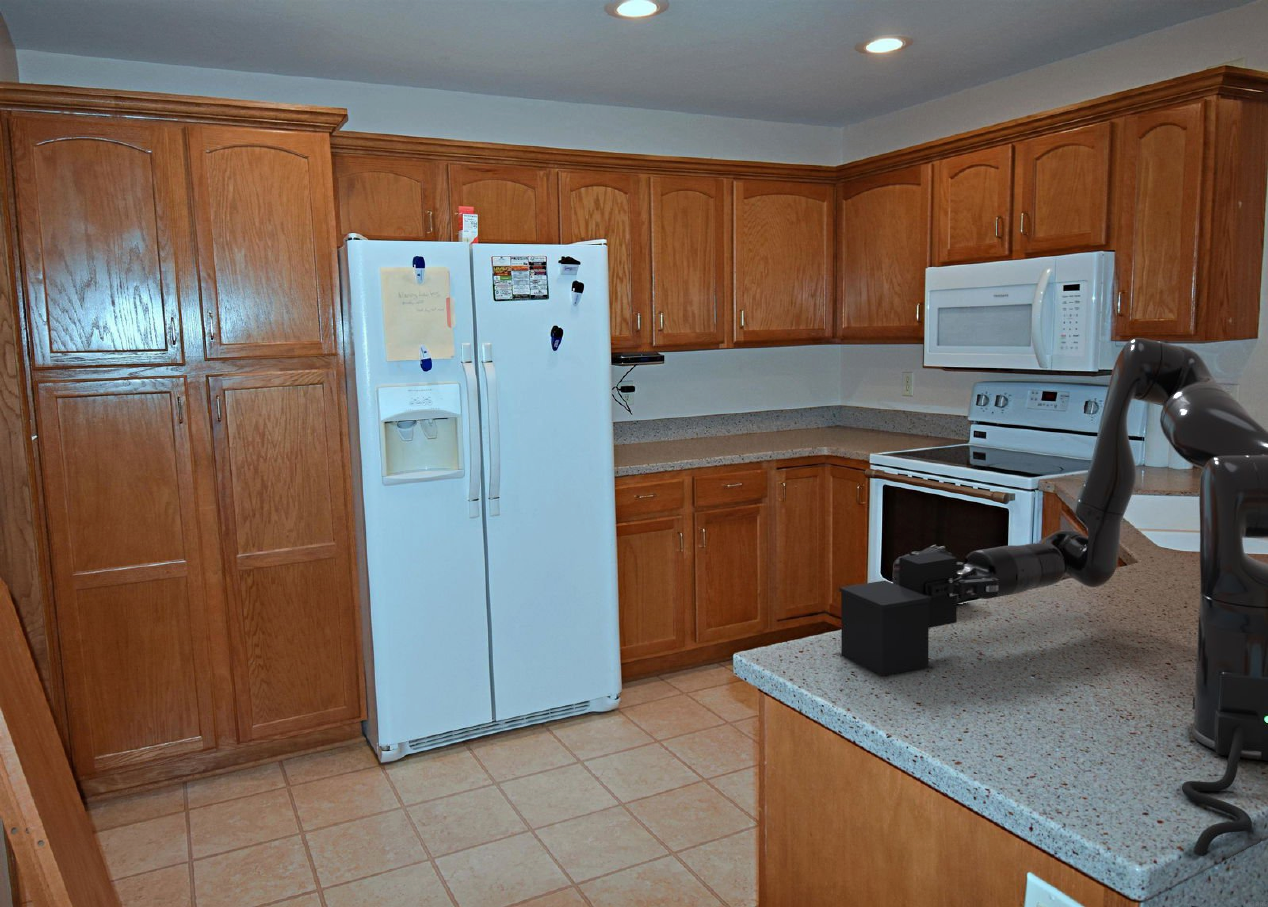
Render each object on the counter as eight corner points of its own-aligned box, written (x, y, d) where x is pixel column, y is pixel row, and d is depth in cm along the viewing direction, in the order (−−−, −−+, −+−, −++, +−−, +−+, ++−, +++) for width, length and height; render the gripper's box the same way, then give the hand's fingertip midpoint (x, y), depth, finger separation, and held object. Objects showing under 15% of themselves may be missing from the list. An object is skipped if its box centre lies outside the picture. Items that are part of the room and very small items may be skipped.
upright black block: (956, 622, 133) (957, 557, 131) (918, 630, 130) (919, 563, 129) (936, 614, 137) (936, 551, 136) (899, 621, 134) (899, 557, 133)
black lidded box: (930, 667, 128) (931, 597, 126) (882, 677, 125) (882, 605, 123) (884, 645, 137) (885, 580, 136) (839, 654, 134) (839, 587, 133)
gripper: (969, 538, 144) (882, 551, 138) (1038, 557, 131) (946, 572, 125) (968, 583, 145) (882, 598, 139) (1037, 606, 132) (946, 624, 126)
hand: (913, 586), depth 132 cm, fingers closed on upright black block, 4 cm apart
